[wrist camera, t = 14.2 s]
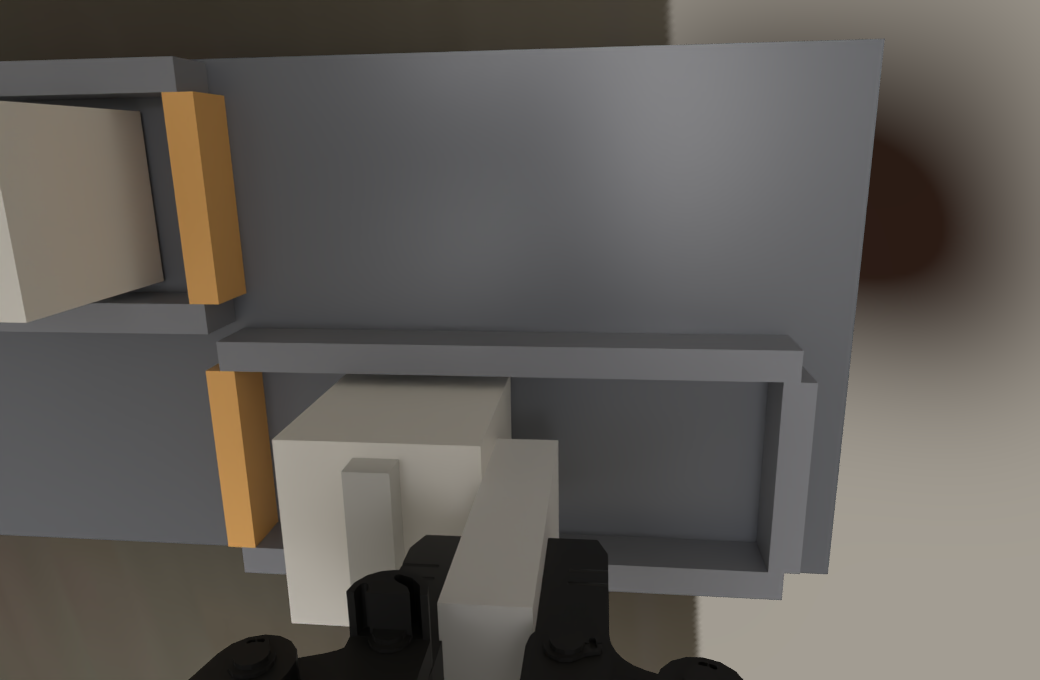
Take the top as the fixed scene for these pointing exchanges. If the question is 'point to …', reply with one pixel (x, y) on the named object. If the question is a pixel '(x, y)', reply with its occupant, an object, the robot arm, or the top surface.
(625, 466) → the switch bank
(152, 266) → the tab
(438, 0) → the top surface
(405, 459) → the tab
